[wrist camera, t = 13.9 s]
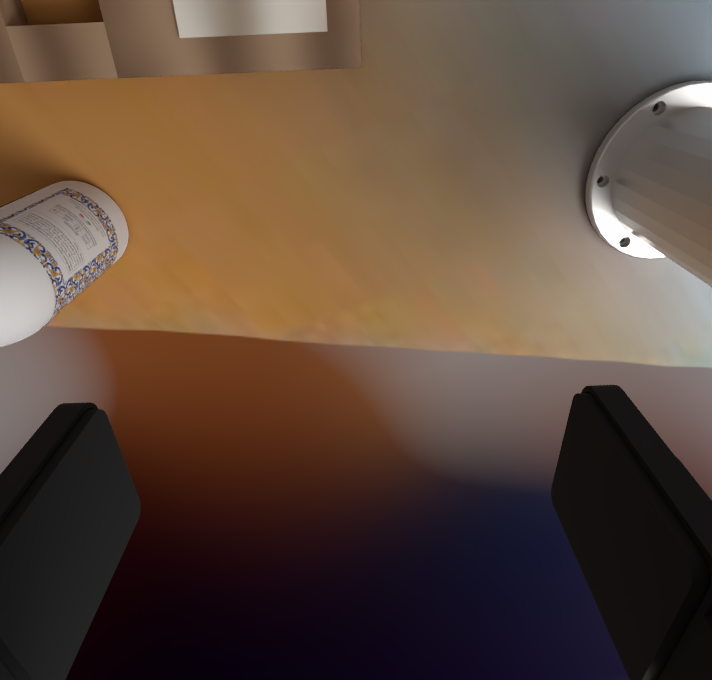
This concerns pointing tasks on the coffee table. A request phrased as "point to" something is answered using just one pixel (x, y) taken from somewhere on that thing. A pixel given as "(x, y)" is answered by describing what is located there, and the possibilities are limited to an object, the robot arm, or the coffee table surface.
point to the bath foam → (54, 252)
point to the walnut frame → (181, 39)
